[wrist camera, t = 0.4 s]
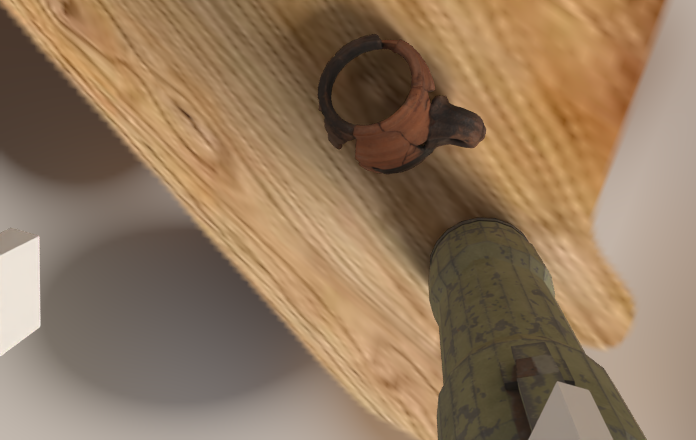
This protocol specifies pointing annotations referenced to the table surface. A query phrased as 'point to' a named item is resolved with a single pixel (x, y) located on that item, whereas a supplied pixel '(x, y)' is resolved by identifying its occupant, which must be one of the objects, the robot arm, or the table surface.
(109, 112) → the table surface
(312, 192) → the table surface
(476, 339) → the thermos
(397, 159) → the pottery mug
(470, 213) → the table surface
